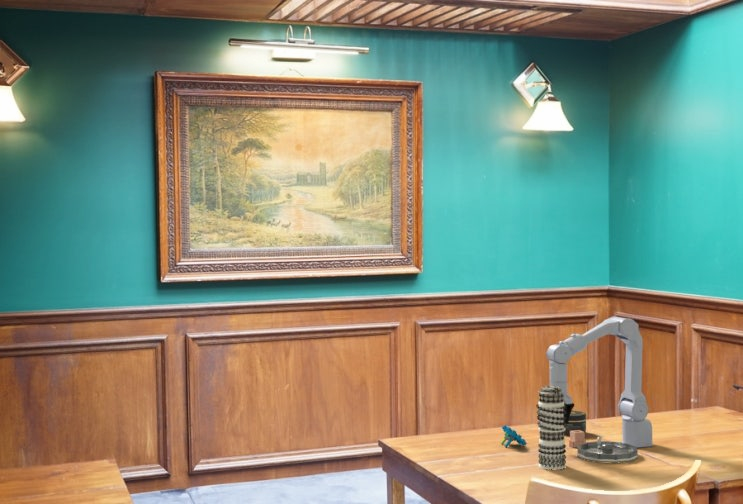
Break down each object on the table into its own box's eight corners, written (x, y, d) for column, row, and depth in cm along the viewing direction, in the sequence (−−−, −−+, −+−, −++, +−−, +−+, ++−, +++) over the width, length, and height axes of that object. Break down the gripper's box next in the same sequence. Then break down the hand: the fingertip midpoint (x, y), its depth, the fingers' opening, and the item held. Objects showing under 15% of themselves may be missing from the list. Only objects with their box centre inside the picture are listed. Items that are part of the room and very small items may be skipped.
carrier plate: (617, 447, 318) (617, 431, 317) (649, 460, 299) (649, 443, 299) (566, 452, 312) (566, 436, 312) (596, 465, 294) (596, 448, 294)
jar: (565, 429, 347) (565, 409, 347) (590, 432, 341) (590, 411, 341) (553, 434, 339) (553, 413, 339) (579, 438, 333) (579, 416, 333)
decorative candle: (561, 471, 287) (560, 390, 287) (532, 468, 292) (531, 388, 291) (571, 465, 295) (570, 385, 294) (543, 461, 300) (542, 383, 299)
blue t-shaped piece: (532, 444, 318) (511, 424, 317) (521, 457, 316) (500, 437, 315) (519, 441, 328) (498, 422, 327) (508, 454, 327) (488, 435, 326)
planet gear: (580, 443, 324) (580, 429, 324) (588, 447, 319) (588, 432, 319) (566, 445, 322) (566, 430, 322) (574, 448, 317) (574, 433, 317)
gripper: (537, 378, 317) (538, 418, 318) (557, 385, 303) (558, 427, 304) (556, 377, 319) (556, 417, 320) (577, 383, 305) (578, 425, 306)
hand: (559, 422), depth 312 cm, fingers open, 7 cm apart
